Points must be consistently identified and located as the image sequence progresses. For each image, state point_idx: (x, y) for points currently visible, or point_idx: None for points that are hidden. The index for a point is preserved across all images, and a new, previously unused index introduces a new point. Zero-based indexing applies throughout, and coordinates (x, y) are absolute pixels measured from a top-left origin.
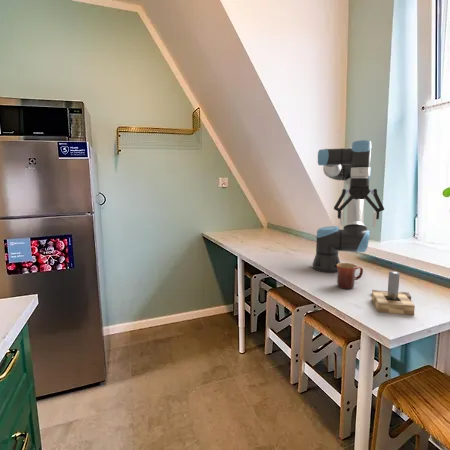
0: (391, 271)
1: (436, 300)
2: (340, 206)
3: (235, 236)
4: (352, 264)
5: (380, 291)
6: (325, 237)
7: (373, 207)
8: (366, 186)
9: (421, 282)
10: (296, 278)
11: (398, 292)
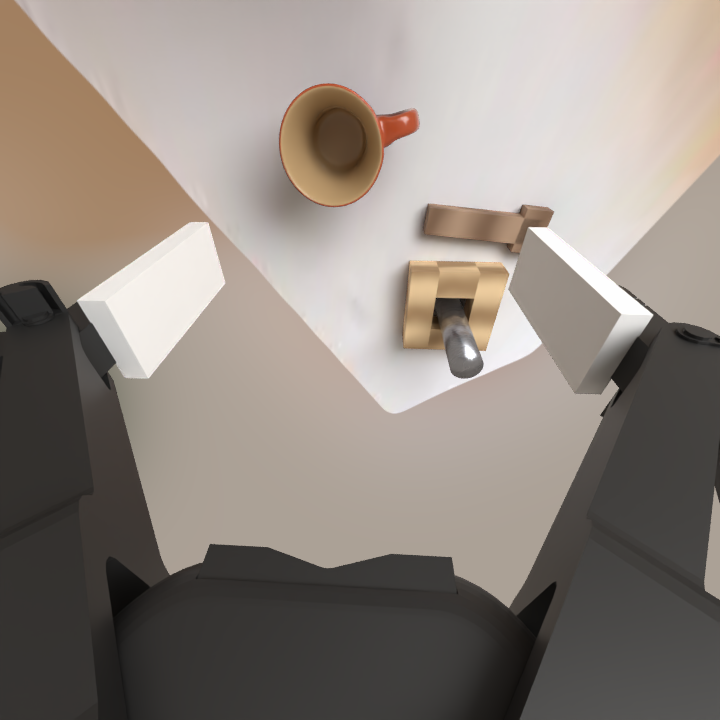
0: (462, 357)
1: (622, 228)
2: (12, 368)
3: None
4: (367, 111)
5: (453, 221)
6: None
7: (589, 447)
8: None
9: None
10: (107, 38)
11: (515, 219)
